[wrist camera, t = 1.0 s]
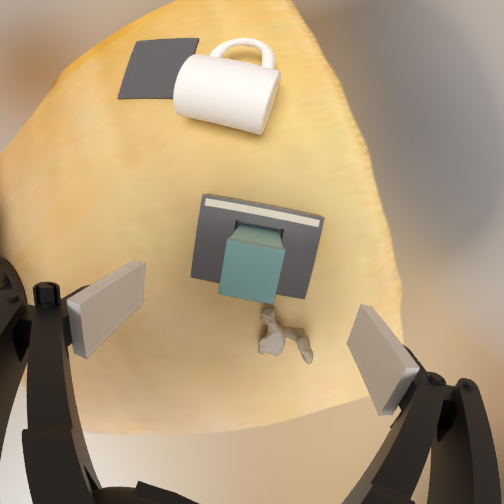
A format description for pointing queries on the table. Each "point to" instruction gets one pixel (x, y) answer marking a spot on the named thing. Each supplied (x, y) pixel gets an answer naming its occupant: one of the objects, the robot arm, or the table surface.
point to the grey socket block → (283, 219)
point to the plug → (252, 263)
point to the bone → (282, 337)
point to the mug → (228, 88)
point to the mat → (155, 68)
